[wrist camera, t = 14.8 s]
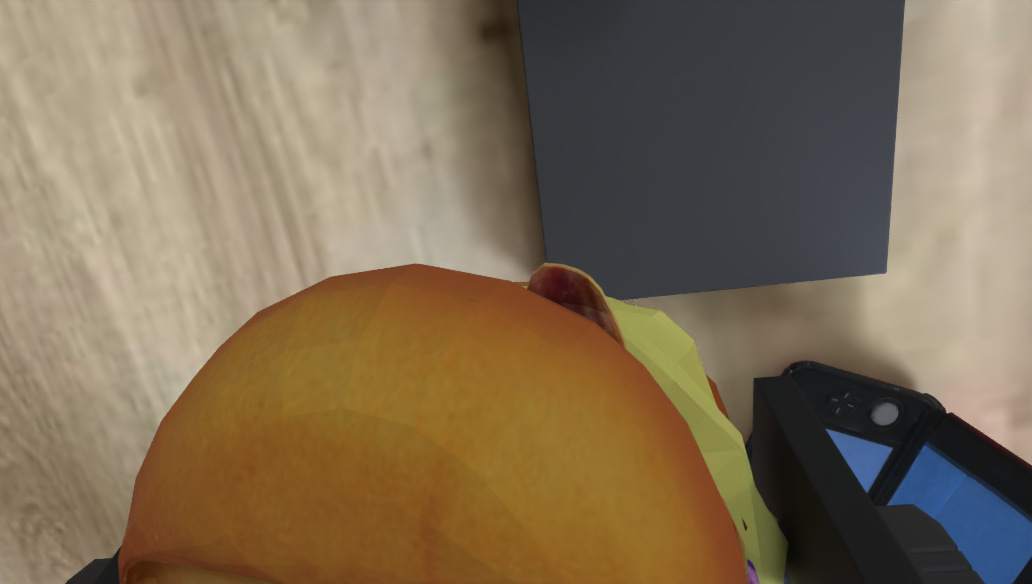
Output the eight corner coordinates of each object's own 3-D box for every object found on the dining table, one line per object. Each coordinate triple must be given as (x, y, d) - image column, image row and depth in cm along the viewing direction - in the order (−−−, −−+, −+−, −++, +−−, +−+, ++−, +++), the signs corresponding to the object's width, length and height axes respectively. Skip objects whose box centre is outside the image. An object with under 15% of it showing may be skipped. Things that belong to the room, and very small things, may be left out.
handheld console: (786, 348, 35) (847, 438, 28) (997, 410, 36) (1105, 511, 29) (684, 554, 40) (716, 674, 33) (874, 603, 41) (942, 730, 34)
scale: (468, -181, 28) (459, -202, 24) (897, -243, 27) (947, -274, 23) (526, 293, 35) (526, 326, 31) (868, 258, 34) (904, 288, 30)
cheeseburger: (468, 706, 20) (295, 1252, 10) (231, 361, 19) (-204, 594, 9) (831, 533, 17) (1067, 1038, 8) (576, 129, 16) (474, 115, 7)
